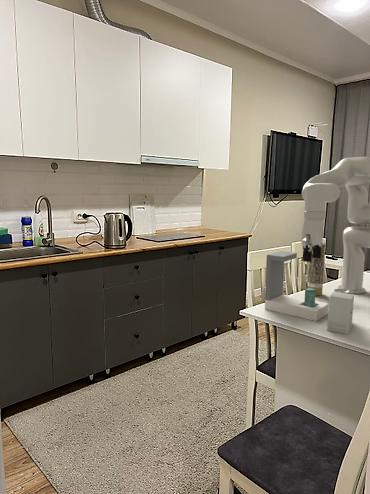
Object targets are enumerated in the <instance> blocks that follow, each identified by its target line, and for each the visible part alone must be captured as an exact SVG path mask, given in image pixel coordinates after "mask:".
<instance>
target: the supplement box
mask: <svg viewBox="0 0 370 494" xmlns="http://www.w3.org/2000/svg"><path fill="white" fill-rule="evenodd" d="M328 297H329V299H328V304H329V307H328V314H327V325H326V327H327V328H326V330H327V331H330V332H335V333H340V334H343V335H344V334H345V335H349V334H350V332H351V330H352V325H353V313H354V301H355V300H354V298H355V294H353V293H350V294H346V293H338V292H334V291H333V292H331V294H330V295H329V296H328Z"/></svg>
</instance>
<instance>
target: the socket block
mask: <svg viewBox="0 0 370 494" xmlns="http://www.w3.org/2000/svg"><path fill="white" fill-rule="evenodd" d="M297 255H298V254H297V252H291V251H284V250H283V251H282V250H278V251H275V252H272V253H268V254H266V262H265V264H266V265H265V268H266V269H265V291H264V292H265V295H264V310H269V311H272V312H277V313H281V314H285V315H290V316H293V317H294V316H295V317H297V318H303V319H307V320H311V321H315V322H317V321H319V320H320V319H322V318H323V317H325V316H326V315H328V310H329V302H328V303H327V302H322V301H318V300H315V307H314V308H313V307H308V306H304V301H305V298H302V297H297V296H293V295H288V294H284V275H285V273H284V272H285V262H288V261H291V260H294V259H297V257H298V256H297Z"/></svg>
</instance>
